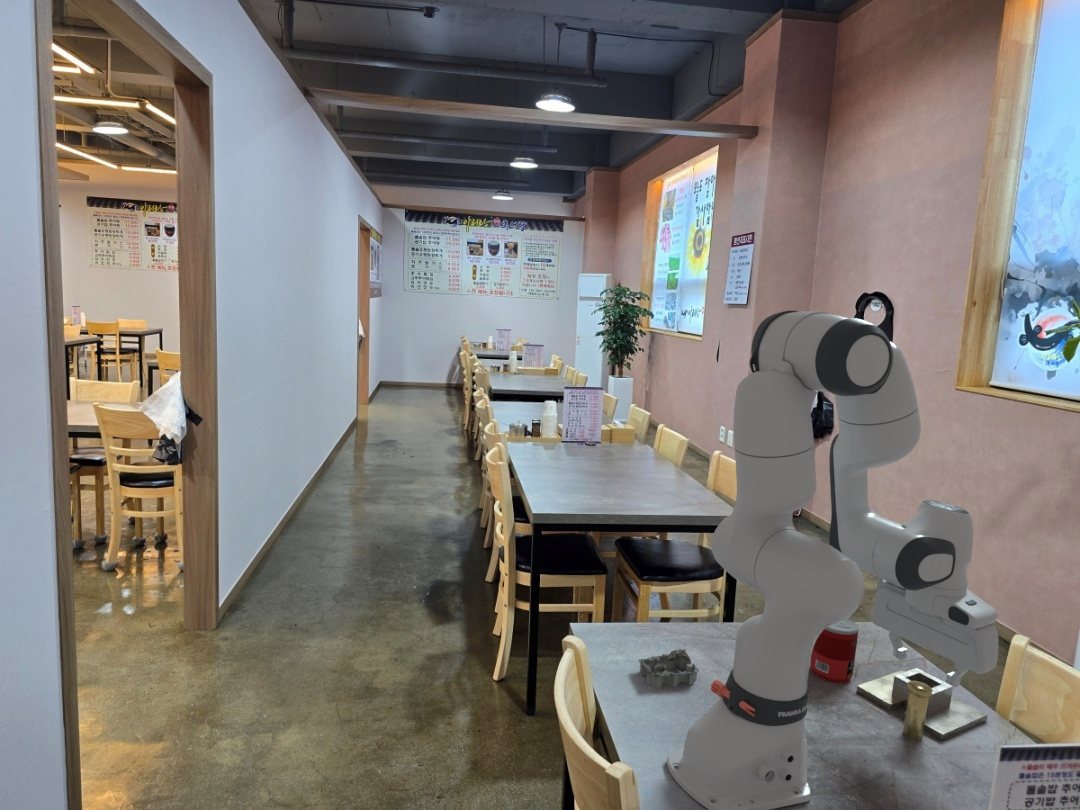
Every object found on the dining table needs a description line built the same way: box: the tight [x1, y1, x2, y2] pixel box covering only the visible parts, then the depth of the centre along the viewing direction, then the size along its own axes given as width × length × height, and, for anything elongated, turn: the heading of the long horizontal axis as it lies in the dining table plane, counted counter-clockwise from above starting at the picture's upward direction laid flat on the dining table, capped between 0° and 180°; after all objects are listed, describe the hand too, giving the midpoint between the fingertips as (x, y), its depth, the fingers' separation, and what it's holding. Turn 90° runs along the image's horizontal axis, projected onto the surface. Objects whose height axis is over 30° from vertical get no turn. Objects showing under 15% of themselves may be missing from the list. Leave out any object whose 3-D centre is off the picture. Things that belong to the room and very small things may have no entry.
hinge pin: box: [902, 681, 933, 741], centre depth 119 cm, size 4×4×9 cm
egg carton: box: [637, 648, 700, 689], centre depth 134 cm, size 11×8×4 cm
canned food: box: [810, 617, 860, 684], centre depth 138 cm, size 8×8×11 cm
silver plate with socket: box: [856, 667, 988, 742], centre depth 128 cm, size 14×17×5 cm
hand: (925, 670), depth 118 cm, fingers open, 8 cm apart
